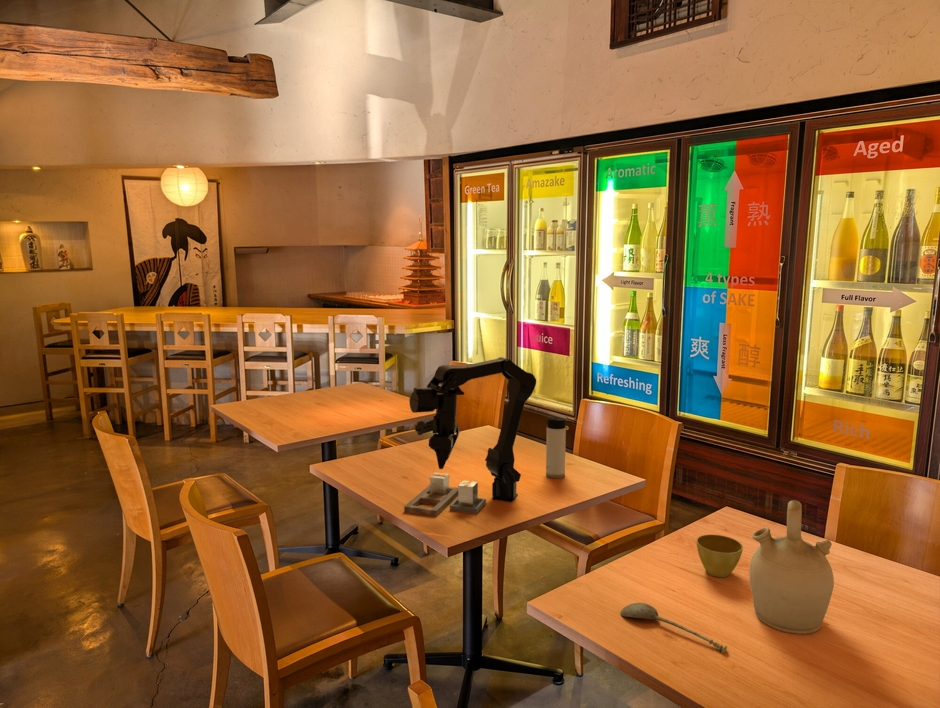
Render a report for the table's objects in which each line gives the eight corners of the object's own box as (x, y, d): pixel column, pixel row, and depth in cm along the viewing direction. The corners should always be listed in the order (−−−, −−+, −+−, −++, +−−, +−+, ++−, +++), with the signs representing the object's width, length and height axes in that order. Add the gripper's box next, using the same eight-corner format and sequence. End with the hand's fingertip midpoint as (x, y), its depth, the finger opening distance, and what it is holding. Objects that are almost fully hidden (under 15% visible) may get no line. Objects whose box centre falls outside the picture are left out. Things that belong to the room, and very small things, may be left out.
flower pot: (719, 559, 159) (721, 531, 158) (751, 578, 150) (753, 548, 148) (685, 566, 155) (687, 537, 154) (715, 586, 146) (717, 556, 145)
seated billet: (449, 495, 200) (448, 473, 199) (443, 501, 196) (443, 478, 195) (435, 494, 202) (435, 471, 201) (430, 499, 198) (429, 476, 197)
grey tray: (485, 504, 193) (485, 498, 193) (476, 515, 186) (476, 509, 185) (459, 501, 196) (459, 495, 196) (449, 511, 188) (449, 505, 188)
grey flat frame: (460, 494, 202) (460, 488, 201) (436, 517, 184) (436, 510, 184) (430, 490, 205) (430, 484, 205) (404, 512, 187) (404, 506, 187)
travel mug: (542, 476, 217) (543, 418, 214) (549, 471, 223) (550, 413, 220) (560, 479, 214) (561, 420, 211) (567, 473, 220) (568, 416, 217)
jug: (733, 618, 133) (741, 501, 129) (764, 590, 144) (772, 482, 140) (814, 650, 122) (825, 524, 119) (840, 618, 133) (851, 501, 129)
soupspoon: (631, 606, 140) (614, 620, 135) (630, 592, 139) (613, 605, 135) (732, 646, 124) (717, 663, 120) (732, 630, 124) (717, 646, 119)
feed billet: (463, 503, 193) (463, 479, 192) (477, 504, 192) (477, 481, 191) (458, 508, 189) (458, 484, 188) (472, 510, 188) (472, 486, 187)
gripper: (424, 402, 194) (421, 453, 196) (411, 415, 176) (409, 471, 178) (461, 404, 193) (458, 456, 195) (452, 418, 175) (449, 475, 177)
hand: (443, 464), depth 186 cm, fingers open, 9 cm apart
